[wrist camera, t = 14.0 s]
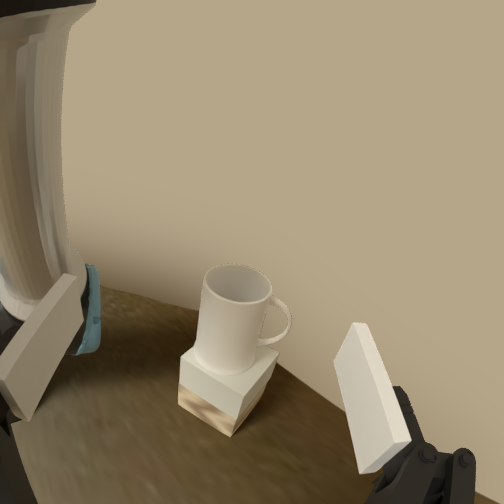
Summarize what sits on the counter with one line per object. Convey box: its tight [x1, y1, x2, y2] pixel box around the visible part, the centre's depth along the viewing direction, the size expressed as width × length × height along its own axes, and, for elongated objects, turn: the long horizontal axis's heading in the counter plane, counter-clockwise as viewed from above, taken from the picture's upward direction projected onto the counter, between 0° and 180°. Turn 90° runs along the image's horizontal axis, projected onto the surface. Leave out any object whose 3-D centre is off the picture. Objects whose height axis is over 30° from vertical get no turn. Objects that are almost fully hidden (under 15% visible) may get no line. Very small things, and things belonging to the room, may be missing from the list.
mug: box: [193, 264, 292, 376], centre depth 39 cm, size 12×8×12 cm
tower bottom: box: [178, 383, 267, 437], centre depth 46 cm, size 10×10×6 cm
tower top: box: [179, 345, 279, 420], centre depth 43 cm, size 10×10×6 cm
